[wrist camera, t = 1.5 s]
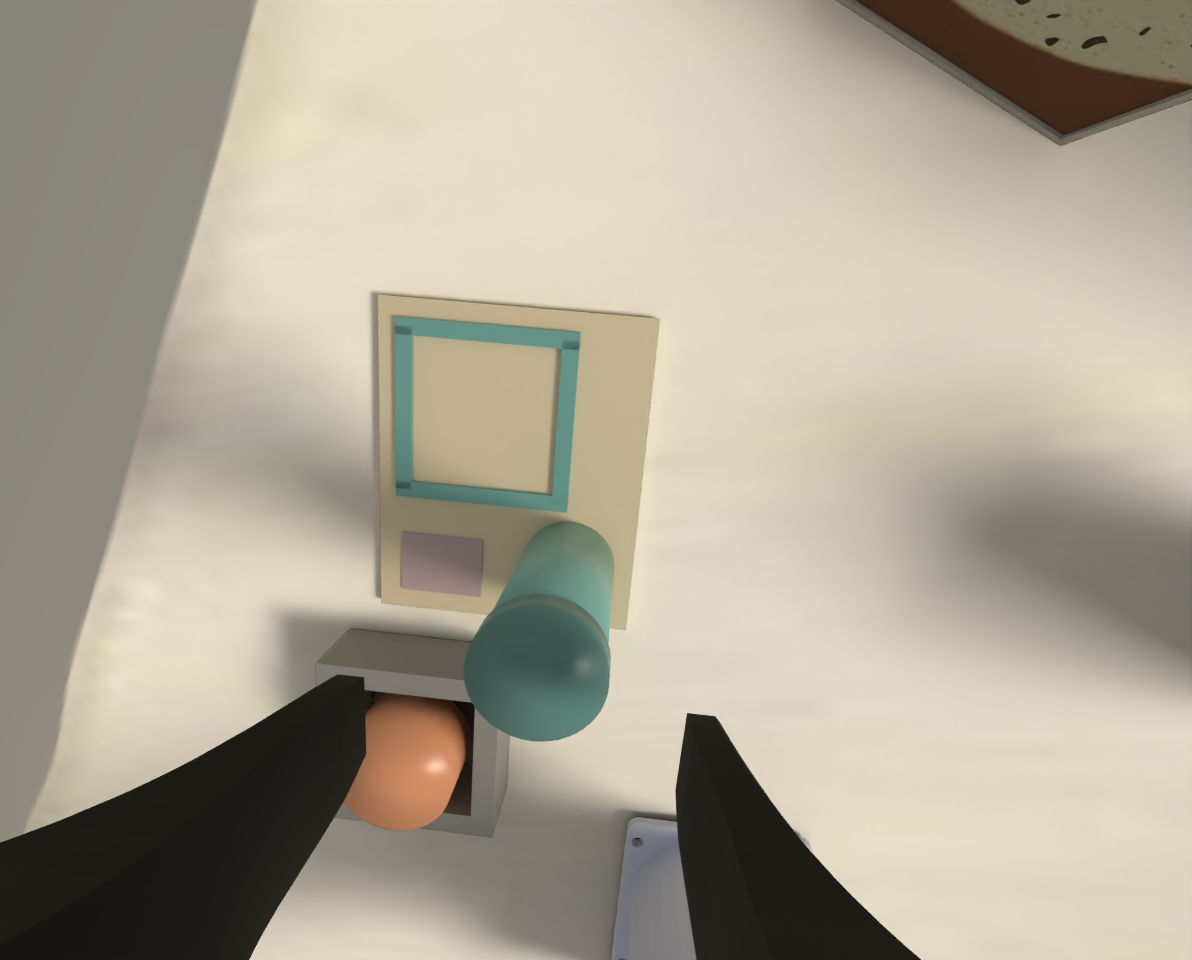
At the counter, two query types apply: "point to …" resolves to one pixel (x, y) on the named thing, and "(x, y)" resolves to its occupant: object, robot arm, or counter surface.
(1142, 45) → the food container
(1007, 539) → the counter surface
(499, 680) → the teal rounded cylinder
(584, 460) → the card sheet
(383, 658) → the button housing
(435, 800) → the button
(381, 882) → the counter surface
